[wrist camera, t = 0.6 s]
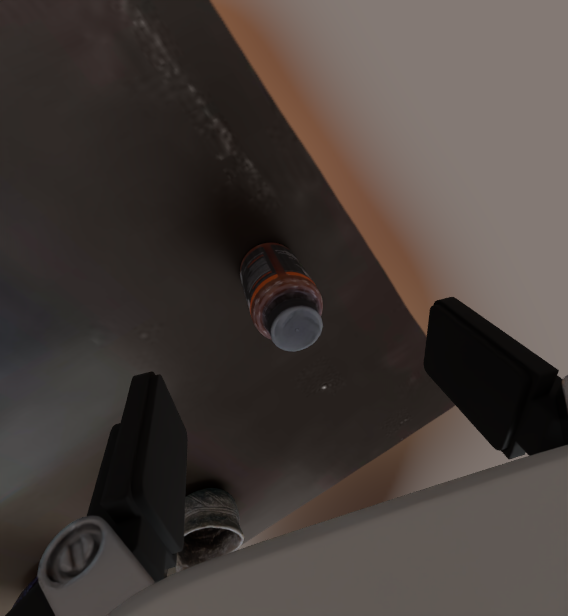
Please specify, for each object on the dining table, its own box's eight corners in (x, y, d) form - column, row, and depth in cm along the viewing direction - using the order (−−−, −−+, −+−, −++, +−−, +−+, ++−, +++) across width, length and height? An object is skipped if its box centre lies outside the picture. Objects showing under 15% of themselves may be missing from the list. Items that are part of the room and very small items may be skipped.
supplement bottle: (232, 288, 34) (245, 357, 24) (248, 233, 31) (270, 285, 22) (286, 299, 36) (318, 366, 26) (304, 248, 33) (347, 302, 24)
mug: (251, 490, 52) (261, 564, 43) (193, 531, 54) (192, 608, 45) (207, 468, 47) (208, 546, 38) (145, 513, 49) (133, 597, 40)
